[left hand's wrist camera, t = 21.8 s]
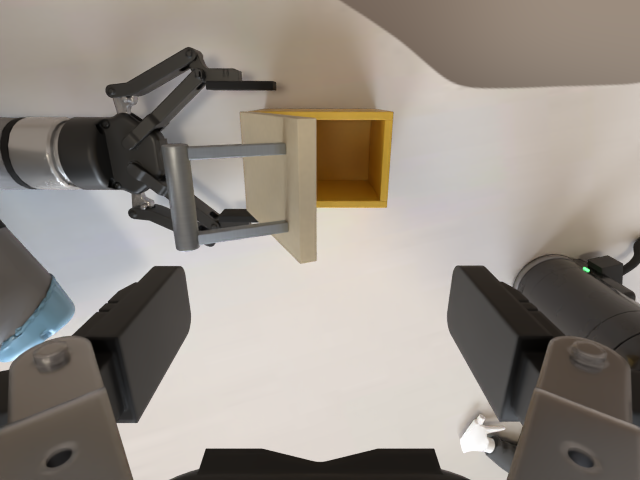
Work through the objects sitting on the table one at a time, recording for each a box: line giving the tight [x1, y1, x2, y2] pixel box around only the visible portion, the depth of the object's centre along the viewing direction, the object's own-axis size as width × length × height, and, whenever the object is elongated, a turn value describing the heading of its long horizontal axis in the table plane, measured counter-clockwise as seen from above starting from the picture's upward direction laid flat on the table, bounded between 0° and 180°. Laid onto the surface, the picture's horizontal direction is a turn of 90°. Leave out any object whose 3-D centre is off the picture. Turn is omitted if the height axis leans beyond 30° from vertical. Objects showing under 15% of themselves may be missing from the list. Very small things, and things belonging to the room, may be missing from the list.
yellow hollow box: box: [248, 109, 393, 208], centre depth 40 cm, size 13×9×11 cm
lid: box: [161, 112, 317, 264], centre depth 27 cm, size 14×9×8 cm
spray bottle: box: [460, 414, 517, 473], centre depth 61 cm, size 3×11×24 cm
